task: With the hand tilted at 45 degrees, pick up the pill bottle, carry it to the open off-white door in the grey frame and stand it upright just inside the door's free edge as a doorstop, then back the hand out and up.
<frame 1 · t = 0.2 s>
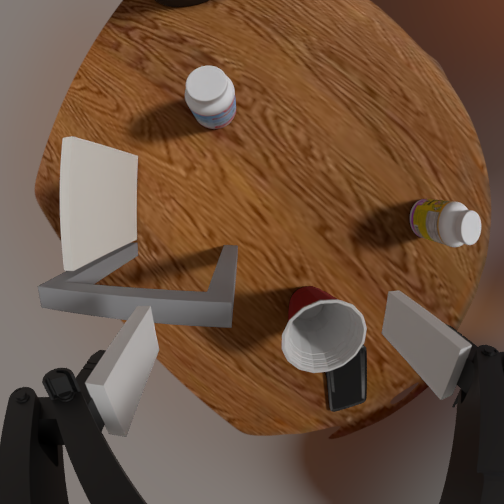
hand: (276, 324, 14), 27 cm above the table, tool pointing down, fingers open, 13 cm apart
door: (101, 200, 30), point 9 cm above the table, hinge at 90.0°
pill bottle: (215, 110, 37), on the table
phone: (345, 377, 48), on the table
plastic cup: (305, 303, 44), on the table
door frame: (164, 250, 41), on the table
supplement bottle: (421, 217, 41), on the table
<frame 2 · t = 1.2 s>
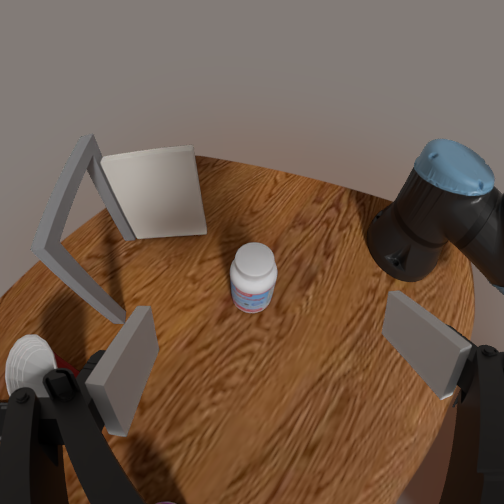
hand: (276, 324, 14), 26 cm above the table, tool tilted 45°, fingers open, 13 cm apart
door: (159, 196, 40), point 9 cm above the table, hinge at 90.0°
pill bottle: (252, 295, 43), on the table
phone: (12, 423, 27), on the table
plastic cup: (74, 386, 33), on the table
door frame: (126, 262, 45), on the table
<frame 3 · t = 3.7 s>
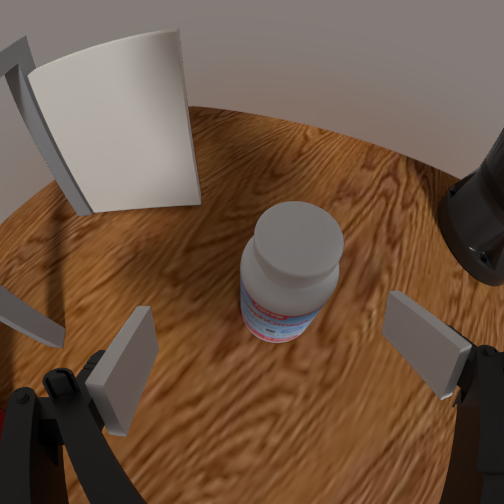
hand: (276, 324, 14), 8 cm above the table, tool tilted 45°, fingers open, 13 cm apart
door: (121, 134, 21), point 10 cm above the table, hinge at 90.0°
pill bottle: (276, 310, 24), on the table
plastic cup: (3, 431, 15), on the table
door frame: (75, 248, 26), on the table
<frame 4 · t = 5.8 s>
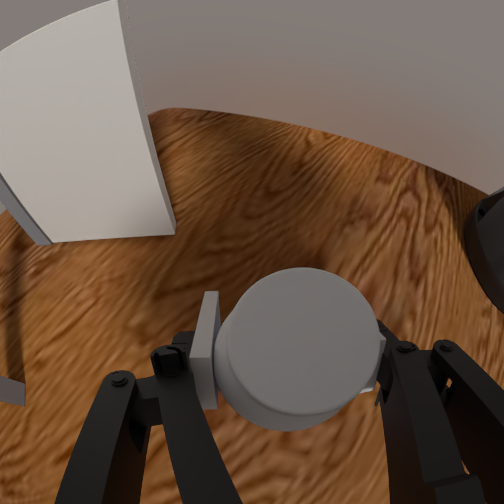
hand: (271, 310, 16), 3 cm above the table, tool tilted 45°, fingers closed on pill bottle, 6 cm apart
door: (67, 149, 15), point 9 cm above the table, hinge at 90.0°
pill bottle: (271, 378, 17), on the table, touching gripper
door frame: (32, 286, 20), on the table
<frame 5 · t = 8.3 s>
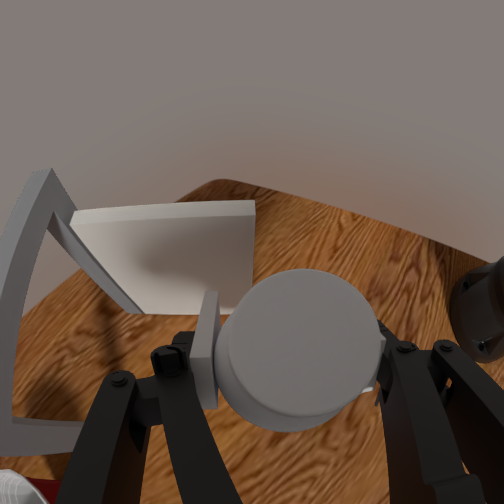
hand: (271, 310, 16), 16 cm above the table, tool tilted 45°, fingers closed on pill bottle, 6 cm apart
door: (181, 269, 25), point 9 cm above the table, hinge at 90.0°
pill bottle: (271, 378, 17), point 12 cm above the table, touching gripper
plastic cup: (80, 498, 18), on the table
door frame: (131, 348, 30), on the table
when the fingers open (5 cm above the table, at t = 11.1 s): pill bottle stays where it is, point 1 cm above the table.
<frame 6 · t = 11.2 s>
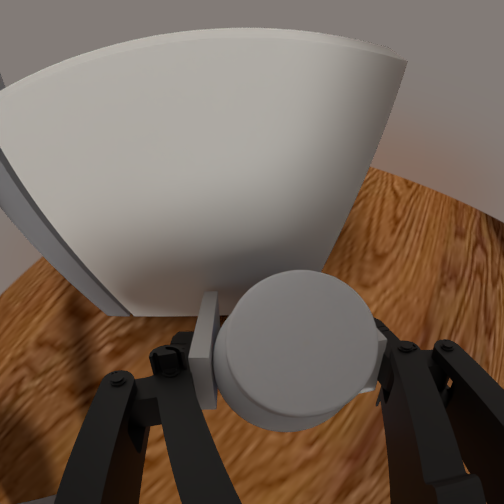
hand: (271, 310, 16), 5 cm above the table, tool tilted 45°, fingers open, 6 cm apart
door: (197, 229, 13), point 10 cm above the table, hinge at 90.0°
pill bottle: (271, 378, 17), point 1 cm above the table
door frame: (114, 370, 18), on the table
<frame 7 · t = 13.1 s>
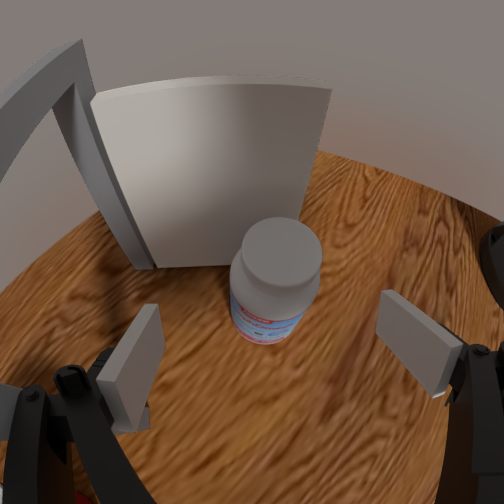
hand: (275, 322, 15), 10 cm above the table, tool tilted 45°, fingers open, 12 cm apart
door: (215, 190, 20), point 9 cm above the table, hinge at 90.0°
pill bottle: (264, 314, 25), on the table
door frame: (140, 311, 25), on the table
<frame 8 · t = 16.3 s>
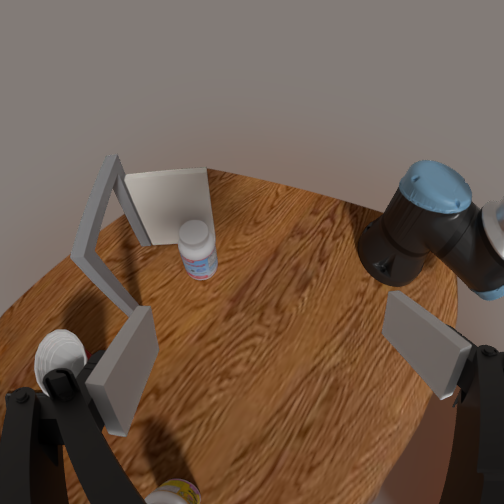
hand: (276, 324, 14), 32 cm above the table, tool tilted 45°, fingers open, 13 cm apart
door: (175, 208, 47), point 10 cm above the table, hinge at 90.0°
pill bottle: (202, 266, 52), on the table
plastic cup: (95, 376, 40), on the table
door frame: (143, 265, 51), on the table
supplement bottle: (181, 494, 30), on the table
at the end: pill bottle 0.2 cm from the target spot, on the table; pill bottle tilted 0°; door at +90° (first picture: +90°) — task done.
